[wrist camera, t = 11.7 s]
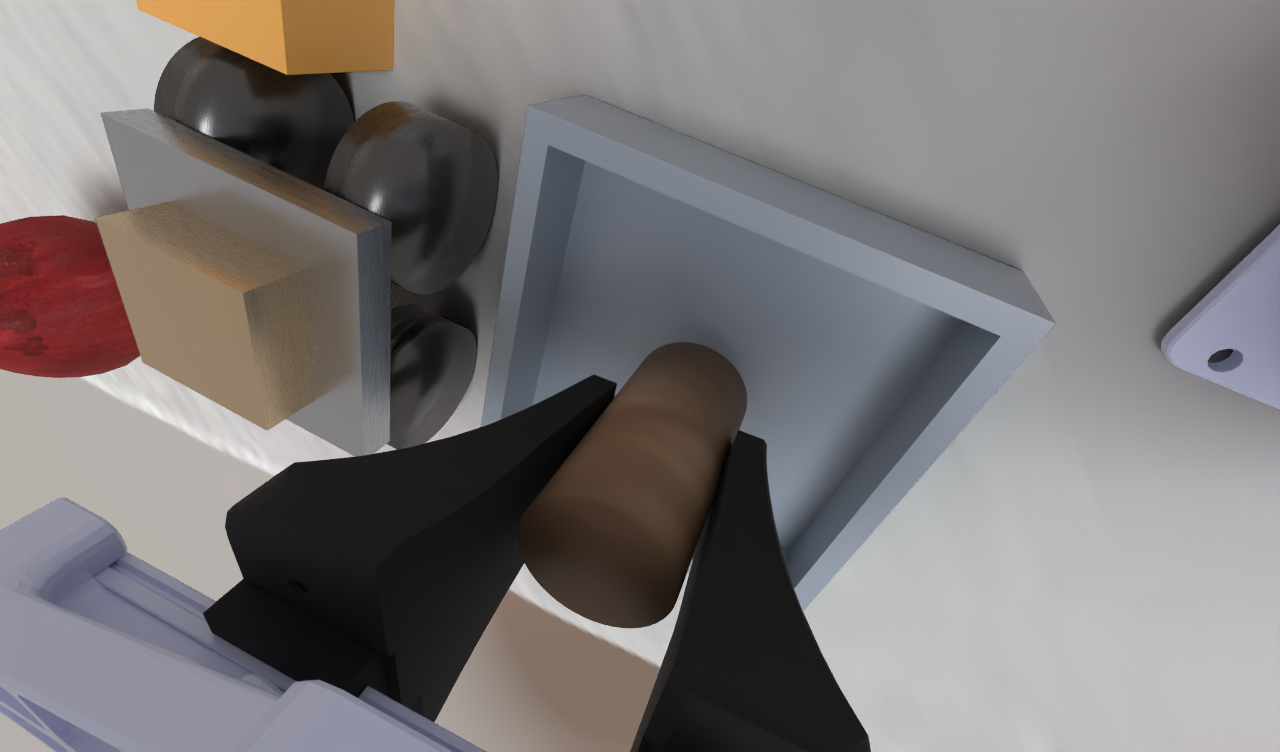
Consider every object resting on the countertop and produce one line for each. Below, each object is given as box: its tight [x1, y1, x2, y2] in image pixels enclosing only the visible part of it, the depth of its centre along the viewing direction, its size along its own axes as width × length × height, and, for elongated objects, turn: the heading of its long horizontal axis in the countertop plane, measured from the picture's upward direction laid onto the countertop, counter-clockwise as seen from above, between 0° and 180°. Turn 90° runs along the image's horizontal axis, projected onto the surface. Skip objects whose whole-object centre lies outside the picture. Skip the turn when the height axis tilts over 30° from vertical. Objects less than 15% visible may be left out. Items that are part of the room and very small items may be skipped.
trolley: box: [95, 37, 498, 457], centre depth 15 cm, size 7×10×7 cm
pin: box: [518, 342, 747, 628], centre depth 12 cm, size 3×3×6 cm
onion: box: [0, 216, 140, 378], centre depth 20 cm, size 6×6×8 cm
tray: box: [481, 95, 1056, 611], centre depth 15 cm, size 11×11×3 cm
